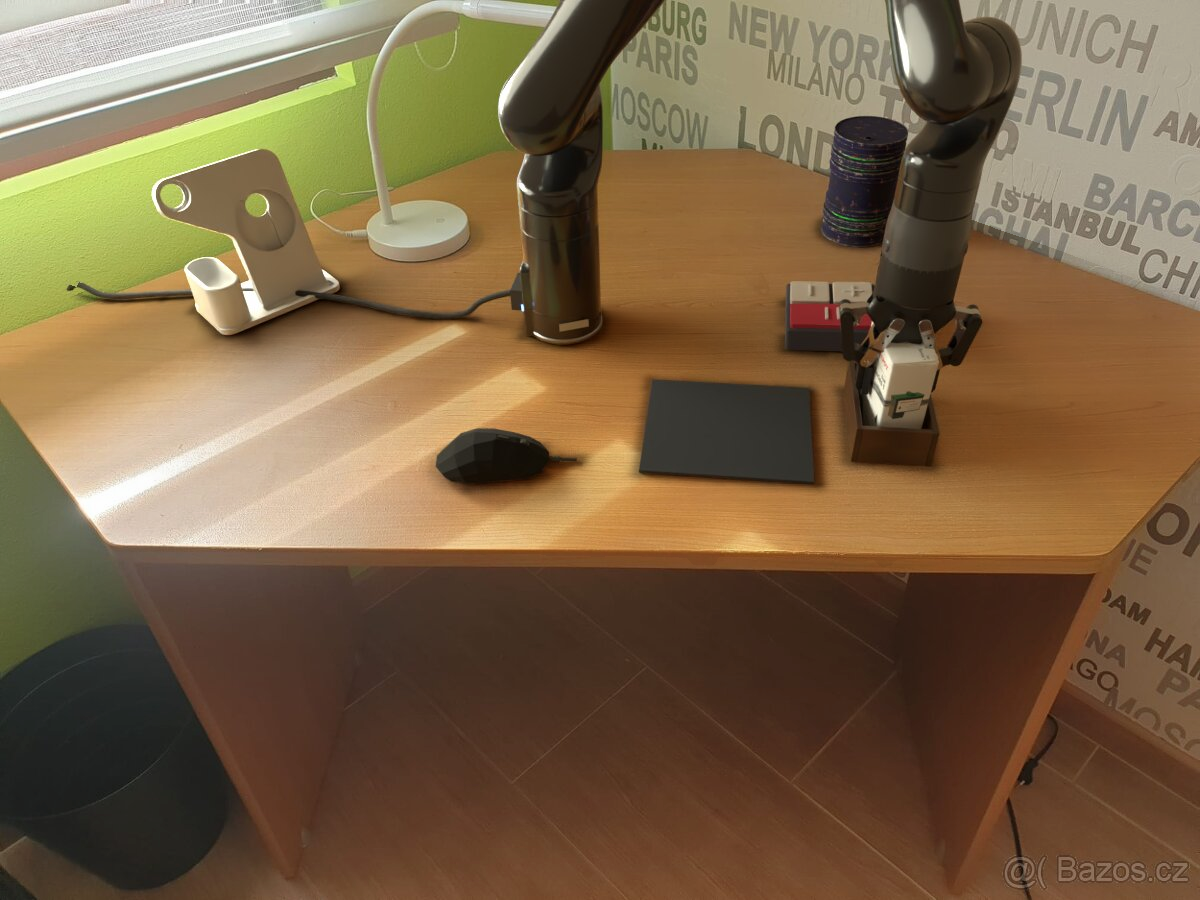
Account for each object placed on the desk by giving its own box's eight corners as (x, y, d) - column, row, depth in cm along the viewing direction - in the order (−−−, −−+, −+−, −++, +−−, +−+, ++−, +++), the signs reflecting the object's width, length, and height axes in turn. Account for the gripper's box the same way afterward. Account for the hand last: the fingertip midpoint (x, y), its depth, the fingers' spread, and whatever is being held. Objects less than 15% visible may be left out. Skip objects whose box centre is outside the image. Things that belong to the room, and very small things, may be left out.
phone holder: (222, 338, 121) (177, 207, 109) (190, 307, 127) (144, 180, 115) (343, 288, 129) (313, 162, 118) (307, 262, 135) (275, 138, 124)
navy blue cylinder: (826, 211, 143) (840, 112, 133) (894, 219, 140) (912, 119, 130) (814, 242, 136) (828, 140, 126) (885, 251, 133) (904, 148, 123)
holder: (850, 461, 100) (857, 428, 97) (843, 391, 109) (848, 359, 106) (931, 466, 99) (940, 433, 96) (917, 395, 108) (924, 363, 105)
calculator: (786, 277, 121) (909, 278, 119) (785, 306, 124) (904, 308, 122) (786, 324, 113) (917, 327, 111) (784, 354, 116) (912, 357, 113)
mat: (638, 473, 100) (638, 470, 99) (652, 381, 112) (652, 379, 111) (814, 484, 98) (814, 481, 97) (808, 390, 110) (809, 387, 109)
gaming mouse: (578, 480, 99) (576, 451, 96) (435, 488, 99) (429, 459, 96) (576, 441, 104) (574, 413, 101) (439, 448, 103) (434, 420, 101)
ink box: (852, 404, 107) (869, 314, 100) (896, 402, 107) (916, 312, 100) (872, 454, 101) (891, 362, 93) (919, 452, 101) (942, 360, 93)
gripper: (995, 231, 92) (957, 374, 103) (843, 226, 93) (821, 367, 105) (1010, 271, 86) (968, 417, 97) (848, 265, 88) (825, 409, 99)
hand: (892, 390), depth 101 cm, fingers closed on ink box, 5 cm apart
